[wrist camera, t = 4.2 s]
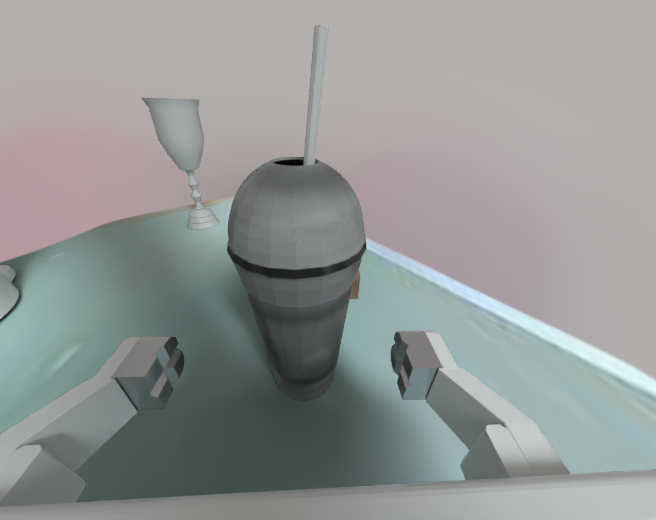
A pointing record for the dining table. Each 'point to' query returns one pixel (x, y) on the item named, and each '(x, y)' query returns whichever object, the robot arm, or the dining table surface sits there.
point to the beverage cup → (299, 254)
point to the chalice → (183, 146)
